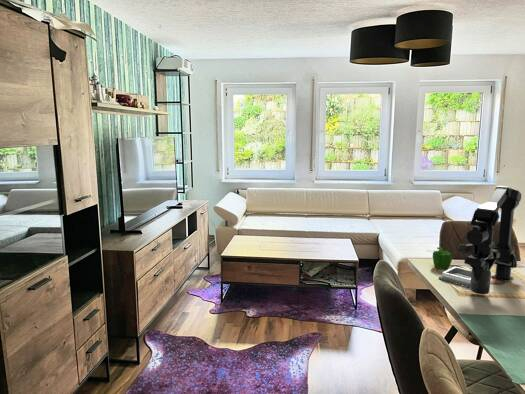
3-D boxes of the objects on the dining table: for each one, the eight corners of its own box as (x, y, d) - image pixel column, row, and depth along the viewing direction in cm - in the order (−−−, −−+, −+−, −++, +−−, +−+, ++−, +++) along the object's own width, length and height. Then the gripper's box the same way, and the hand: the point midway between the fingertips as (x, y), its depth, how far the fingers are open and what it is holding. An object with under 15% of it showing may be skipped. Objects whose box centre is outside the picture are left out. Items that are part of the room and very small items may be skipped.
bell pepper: (452, 266, 192) (453, 246, 190) (449, 272, 185) (451, 251, 183) (433, 263, 196) (434, 244, 194) (430, 268, 189) (431, 248, 188)
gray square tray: (453, 271, 185) (453, 265, 185) (485, 280, 175) (486, 273, 174) (438, 278, 176) (439, 272, 176) (471, 288, 166) (472, 281, 165)
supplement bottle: (491, 295, 155) (494, 265, 153) (472, 294, 156) (475, 264, 154) (485, 288, 161) (488, 259, 159) (467, 287, 163) (469, 259, 161)
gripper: (472, 231, 167) (469, 267, 170) (452, 239, 155) (449, 278, 158) (502, 236, 159) (498, 274, 161) (482, 246, 147) (478, 286, 149)
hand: (480, 277), depth 158 cm, fingers closed on supplement bottle, 7 cm apart
